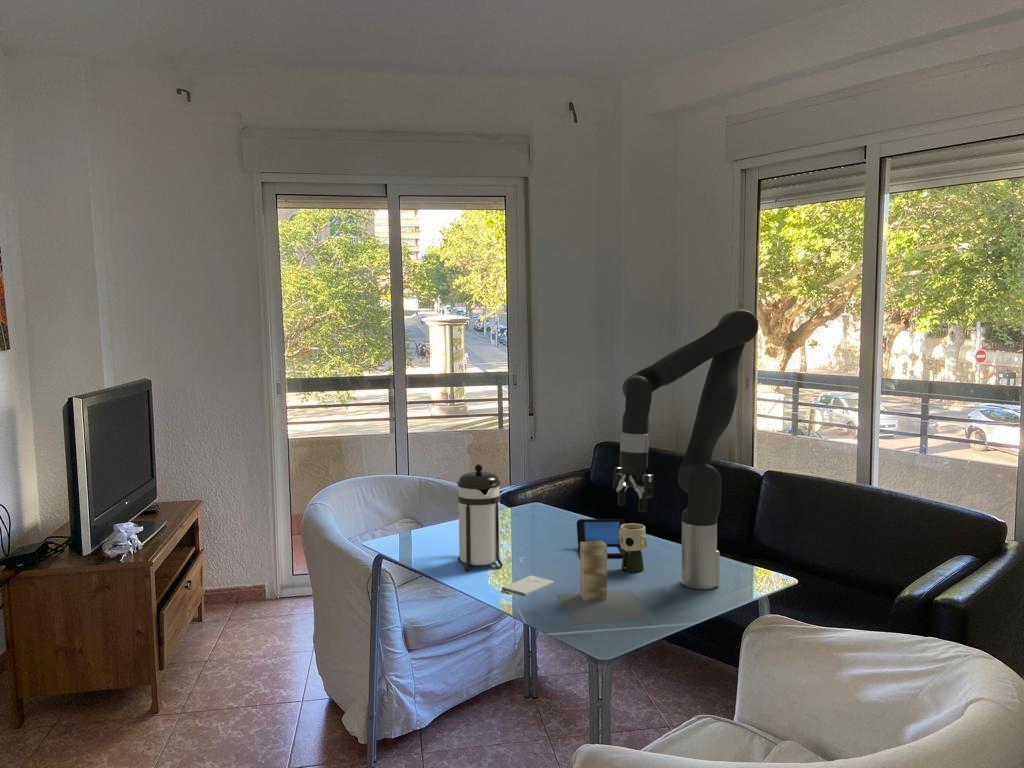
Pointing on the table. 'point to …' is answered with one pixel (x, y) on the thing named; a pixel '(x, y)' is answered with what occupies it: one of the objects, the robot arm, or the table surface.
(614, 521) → the game console
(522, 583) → the external hard drive
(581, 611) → the slate mat
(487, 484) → the coffee press
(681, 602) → the table surface
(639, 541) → the character mug
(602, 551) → the oak block
